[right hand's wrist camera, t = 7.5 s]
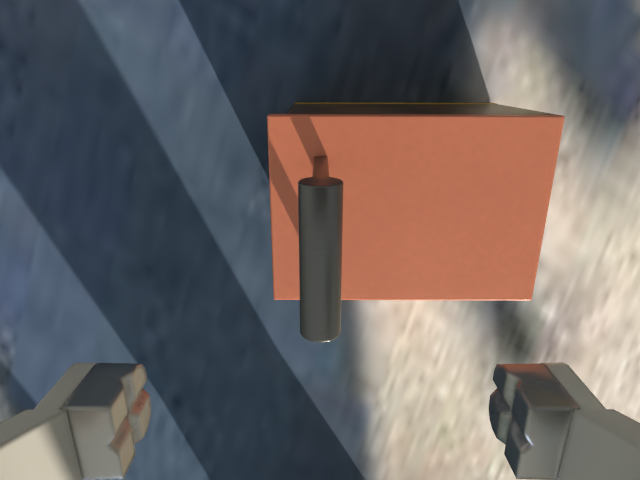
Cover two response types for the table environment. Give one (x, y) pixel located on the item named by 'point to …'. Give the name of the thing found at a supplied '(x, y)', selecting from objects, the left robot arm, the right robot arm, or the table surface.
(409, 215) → the lid
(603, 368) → the table surface
